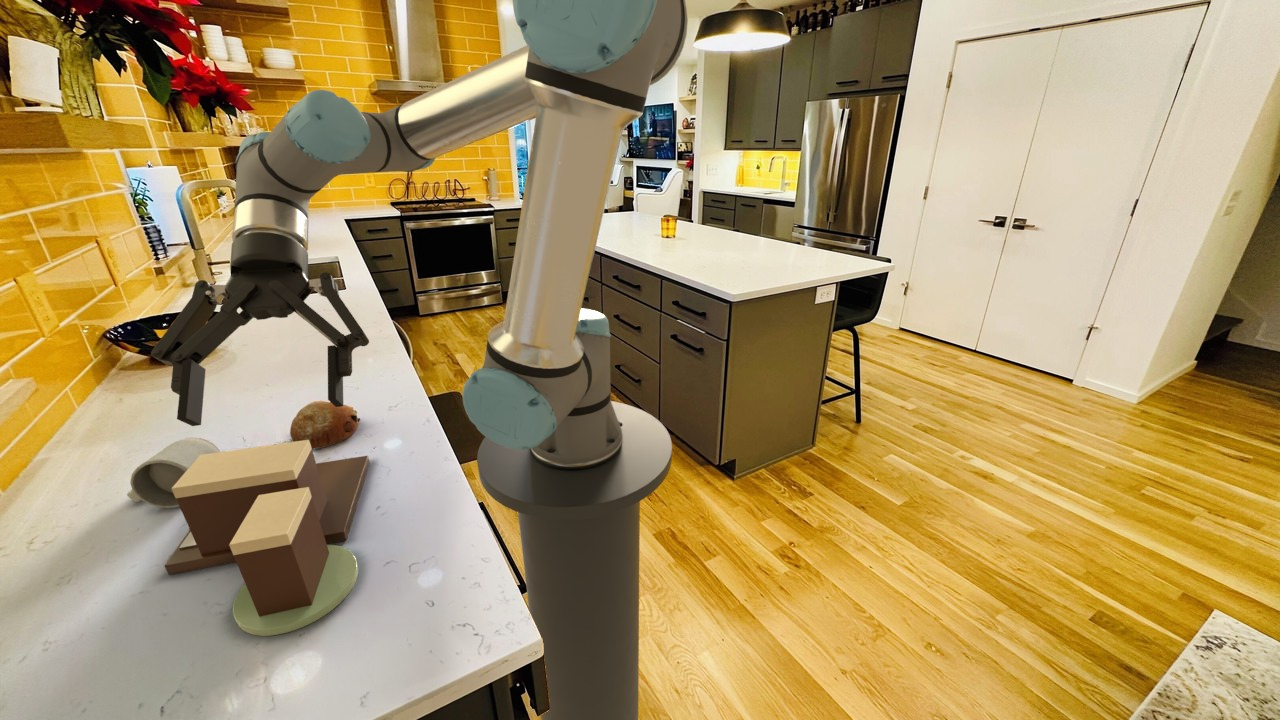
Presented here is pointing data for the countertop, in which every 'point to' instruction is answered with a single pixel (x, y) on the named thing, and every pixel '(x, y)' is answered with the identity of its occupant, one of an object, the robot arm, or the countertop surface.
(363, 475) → the cake board
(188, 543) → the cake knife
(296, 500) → the cake slice
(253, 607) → the plate
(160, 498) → the ceramic mug
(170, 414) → the countertop surface
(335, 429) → the bread roll
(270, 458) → the cake
